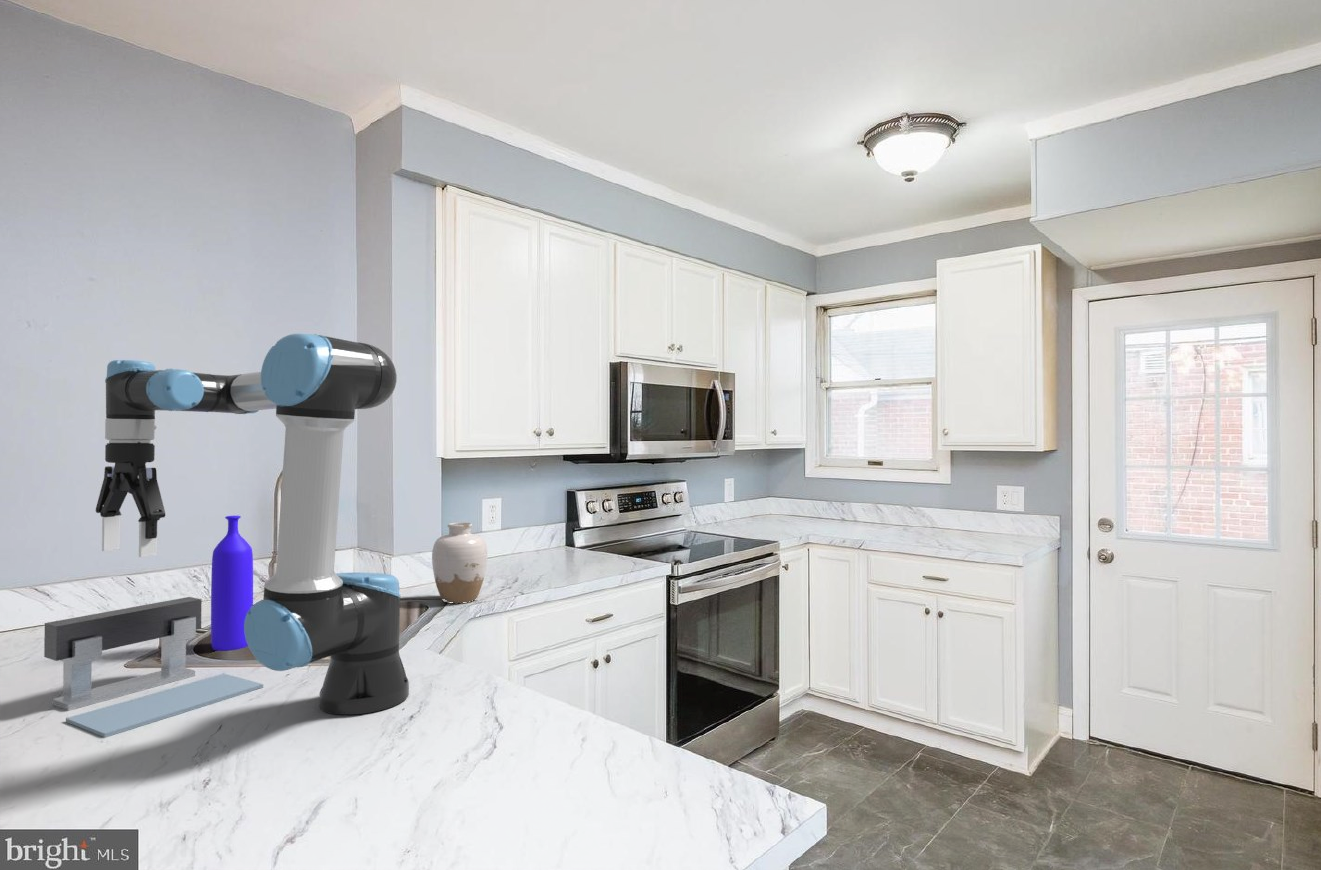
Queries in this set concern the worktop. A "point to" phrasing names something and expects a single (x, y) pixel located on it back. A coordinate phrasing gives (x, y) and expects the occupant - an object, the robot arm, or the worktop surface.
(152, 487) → the robot arm
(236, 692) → the mat
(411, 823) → the worktop surface
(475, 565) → the vase
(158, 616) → the rail
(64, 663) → the standards
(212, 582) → the bottle
